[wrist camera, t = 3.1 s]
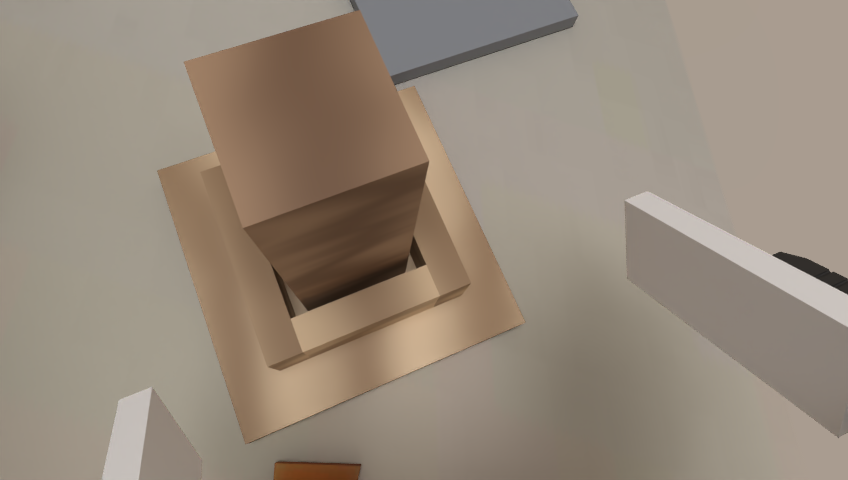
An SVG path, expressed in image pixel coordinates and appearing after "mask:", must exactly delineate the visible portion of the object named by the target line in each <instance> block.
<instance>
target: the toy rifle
mask: <svg viewBox="0 0 848 480" xmlns="http://www.w3.org/2000/svg"><path fill="white" fill-rule="evenodd" d="M360 467H361V464H341V463H309V462H276V463H275V468H274V480H358V476H359V471H360Z"/></svg>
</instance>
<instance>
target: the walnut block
mask: <svg viewBox="0 0 848 480" xmlns="http://www.w3.org/2000/svg"><path fill="white" fill-rule="evenodd" d="M184 64H185V67H186V69H187V72H188V75H189V78H190V81H191V84H192V86H193V89H194V92H195V95H196V98H197V100H198V103H199V106H200V109H201V112H202V115H203V117H204V120H205V123H206V126H207V129H208V131H209V134H210V137H211V140H212V143H213V145H214V148H215V151H216V154H217V157H218V160H219V162H220V165H221V168H222V171H223V174H224V176H225V179H226V182H227V185H228V188H229V190H230V193H231V196H232V199H233V202H234V205H235V207H236V210H237V213H238V216H239V219H240V221H241V224H242V227H243V229H244V230H245V231H246V233H247V234H248V235H249V237H250V238H251V239H252V240H253V242H254V243H255V244H256V245H257V247H258V248H259V249H260V251H261V252H262V253H263V254H264V256H265V257H266V258H267V259H268V261H269V262H270V263H271V265H272V266H273V267H274V268H275V270H276V271H277V272H278V274H279V275H280V276H281V277H282V279H283V280H284V281H285V282H286V284H287V285H288V286H289V288H290V289H291V290H292V291H293V293H294V294H295V295H296V296H297V298H298V299H299V300H300V302H301V303H302V304H303V305H304V307H305V308H306V309H307V310H308V311H310V310H313V309H315V308H318V307H320V306H323V305H325V304H328V303H330V302H333V301H335V300H338V299H340V298H343V297H345V296H348V295H350V294H353V293H355V292H358V291H360V290H363V289H366V288H368V287H371V286H373V285H376V284H378V283H381V282H383V281H386V280H388V279H391V278H393V277H396V276H398V275H401V274H403V273H405V271H406V267H407V262H408V257H409V253H410V248H411V244H412V239H413V234H414V230H415V225H416V221H417V216H418V211H419V207H420V202H421V198H422V193H423V188H424V184H425V179H426V175H427V170H428V165H429V159H428V157H427V155H426V152H425V150H424V148H423V146H422V144H421V142H420V139H419V137H418V135H417V133H416V131H415V129H414V126H413V124H412V122H411V120H410V118H409V116H408V113H407V111H406V109H405V107H404V105H403V102H402V100H401V98H400V96H399V94H398V92H397V89H396V87H395V85H394V83H393V81H392V79H391V76H390V74H389V72H388V70H387V68H386V66H385V63H384V61H383V59H382V57H381V55H380V53H379V50H378V48H377V46H376V44H375V42H374V40H373V37H372V35H371V33H370V31H369V29H368V26H367V24H366V22H365V20H364V18H363V16H362V13H361V11H360V10H358V11H354V12H351V13H348V14H344V15H341V16H338V17H334V18H331V19H327V20H324V21H321V22H317V23H314V24H310V25H307V26H304V27H300V28H297V29H294V30H290V31H287V32H283V33H280V34H277V35H273V36H270V37H266V38H263V39H260V40H256V41H253V42H249V43H246V44H243V45H239V46H236V47H233V48H229V49H226V50H222V51H219V52H216V53H212V54H209V55H205V56H202V57H199V58H195V59H192V60H189V61H185V62H184Z"/></svg>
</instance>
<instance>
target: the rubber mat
mask: <svg viewBox="0 0 848 480" xmlns="http://www.w3.org/2000/svg"><path fill="white" fill-rule="evenodd" d="M350 1H351V3H352V6H353V8H354V10H355V11H358V10H360V11H361V13H362V16H363V18H364V20H365V22H366V24H367V26H368V29H369V31H370V33H371V35H372V37H373V40H374V42H375V44H376V46H377V48H378V50H379V53H380V55H381V57H382V59H383V61H384V63H385V66H386V68H387V70H388V72H389V74H390V76H391V79H392V81H393V83H394V85H395V84H398V83H401V82H404V81H407V80H410V79H414V78H417V77H420V76H423V75H426V74H429V73H432V72H435V71H438V70H441V69H444V68H447V67H450V66H453V65H456V64H459V63H462V62H466V61H469V60H472V59H475V58H478V57H481V56H484V55H487V54H490V53H493V52H496V51H499V50H502V49H505V48H508V47H511V46H515V45H518V44H521V43H524V42H527V41H530V40H533V39H536V38H539V37H542V36H545V35H548V34H551V33H554V32H557V31H560V30H564V29H567V28H570V27H573V25H574V23H575V21H576V19H577V17H578V14H577V12H576V10H575V9H574V7H573V5H572V3H571V2H570V0H350Z"/></svg>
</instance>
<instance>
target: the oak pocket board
mask: <svg viewBox="0 0 848 480" xmlns="http://www.w3.org/2000/svg"><path fill="white" fill-rule="evenodd" d="M398 94H399V96H400V98H401V100H402V102H403V105H404V107H405V109H406V111H407V113H408V116H409V118H410V120H411V122H412V124H413V126H414V129H415V131H416V133H417V135H418V137H419V139H420V142H421V144H422V146H423V148H424V150H425V152H426V155H427V157H428V159H429V165H428V170H427V175H426V179H425V184H424V188H423V193H422V198H421V202H420V207H419V211H418V216H417V221H416V225H415V230H414V234H413V239H412V244H411V248H410V253H409V257H408V262H407V267H406V271H405V273H403V274H401V275H398V276H396V277H393V278H391V279H388V280H386V281H383V282H381V283H378V284H376V285H373V286H371V287H368V288H366V289H363V290H360V291H358V292H355V293H353V294H350V295H348V296H345V297H343V298H340V299H338V300H335V301H333V302H330V303H328V304H325V305H323V306H320V307H318V308H315V309H313V310H310V311H308V310H307V309H306V308H305V307H304V305H303V304H302V303H301V302H300V300H299V299H298V298H297V296H296V295H295V294H294V293H293V291H292V290H291V289H290V288H289V286H288V285H287V284H286V282H285V281H284V280H283V279H282V277H281V276H280V275H279V274H278V272H277V271H276V270H275V268H274V267H273V266H272V265H271V263H270V262H269V261H268V259H267V258H266V257H265V256H264V254H263V253H262V252H261V251H260V249H259V248H258V247H257V245H256V244H255V243H254V242H253V240H252V239H251V238H250V237H249V235H248V234H247V233H246V231H245V230H244V229H243V227H242V224H241V221H240V219H239V216H238V213H237V210H236V207H235V205H234V202H233V199H232V196H231V193H230V190H229V188H228V185H227V182H226V179H225V176H224V174H223V171H222V168H221V165H220V162H219V160H218V157H217V154H216V152H212V153H209V154H206V155H203V156H200V157H197V158H194V159H191V160H188V161H185V162H182V163H179V164H176V165H173V166H170V167H167V168H164V169H161V170H158V171H157V172H158V175H159V178H160V181H161V184H162V187H163V190H164V193H165V196H166V199H167V203H168V206H169V209H170V212H171V215H172V218H173V221H174V224H175V227H176V230H177V233H178V237H179V240H180V243H181V246H182V249H183V252H184V255H185V258H186V261H187V264H188V268H189V271H190V274H191V277H192V280H193V283H194V286H195V289H196V292H197V295H198V298H199V302H200V305H201V308H202V311H203V314H204V317H205V320H206V323H207V326H208V329H209V333H210V336H211V339H212V342H213V345H214V348H215V351H216V354H217V357H218V360H219V363H220V367H221V370H222V373H223V376H224V379H225V382H226V385H227V388H228V391H229V394H230V398H231V401H232V404H233V407H234V410H235V413H236V416H237V419H238V422H239V425H240V428H241V432H242V435H243V438H244V441H245V444H247V443H250V442H253V441H255V440H257V439H260V438H262V437H264V436H267V435H269V434H271V433H273V432H276V431H278V430H280V429H283V428H285V427H287V426H289V425H292V424H294V423H296V422H299V421H301V420H303V419H306V418H308V417H310V416H312V415H315V414H317V413H319V412H322V411H324V410H326V409H329V408H331V407H333V406H335V405H338V404H340V403H342V402H345V401H347V400H349V399H351V398H354V397H356V396H358V395H361V394H363V393H365V392H368V391H370V390H372V389H374V388H377V387H379V386H381V385H384V384H386V383H388V382H390V381H393V380H395V379H397V378H400V377H402V376H404V375H407V374H409V373H411V372H413V371H416V370H418V369H420V368H423V367H425V366H427V365H430V364H432V363H434V362H436V361H439V360H441V359H443V358H446V357H448V356H450V355H452V354H455V353H457V352H459V351H462V350H464V349H466V348H469V347H471V346H473V345H475V344H478V343H480V342H482V341H485V340H487V339H489V338H491V337H494V336H496V335H498V334H501V333H503V332H505V331H508V330H510V329H512V328H514V327H517V326H519V325H521V324H523V323H525V320H524V318H523V316H522V314H521V312H520V310H519V307H518V305H517V303H516V301H515V299H514V297H513V295H512V293H511V290H510V288H509V286H508V284H507V282H506V280H505V278H504V276H503V273H502V271H501V269H500V267H499V265H498V263H497V261H496V259H495V256H494V254H493V252H492V250H491V248H490V246H489V244H488V242H487V239H486V237H485V235H484V233H483V231H482V229H481V227H480V225H479V222H478V220H477V218H476V216H475V214H474V212H473V210H472V207H471V205H470V203H469V201H468V199H467V197H466V195H465V193H464V190H463V188H462V186H461V184H460V182H459V180H458V178H457V176H456V173H455V171H454V169H453V167H452V165H451V163H450V161H449V159H448V156H447V154H446V152H445V150H444V148H443V146H442V144H441V142H440V139H439V137H438V135H437V133H436V131H435V129H434V127H433V125H432V122H431V120H430V118H429V116H428V114H427V112H426V110H425V108H424V105H423V103H422V101H421V99H420V97H419V95H418V93H417V91H416V88H415V86H413V87H410V88H407V89H404V90H401V91H398Z"/></svg>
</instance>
